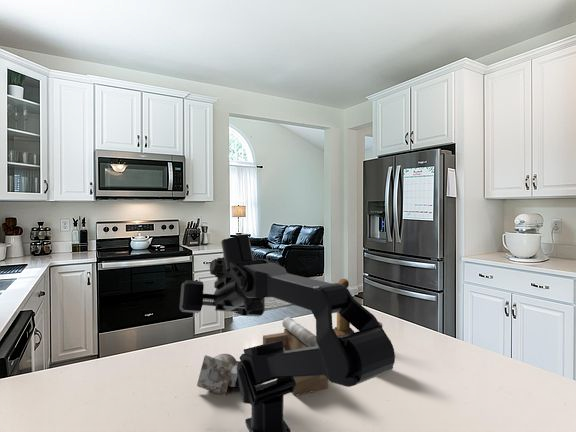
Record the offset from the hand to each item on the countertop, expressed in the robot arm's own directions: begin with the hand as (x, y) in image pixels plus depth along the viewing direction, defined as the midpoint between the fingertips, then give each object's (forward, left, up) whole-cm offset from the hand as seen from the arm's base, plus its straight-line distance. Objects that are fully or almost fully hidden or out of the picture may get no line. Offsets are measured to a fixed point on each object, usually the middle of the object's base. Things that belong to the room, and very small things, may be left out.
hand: (210, 306), depth 84 cm
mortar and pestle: (+7, -41, -16) cm, 45 cm away
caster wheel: (-7, -3, -16) cm, 18 cm away
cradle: (-7, -18, -16) cm, 25 cm away
